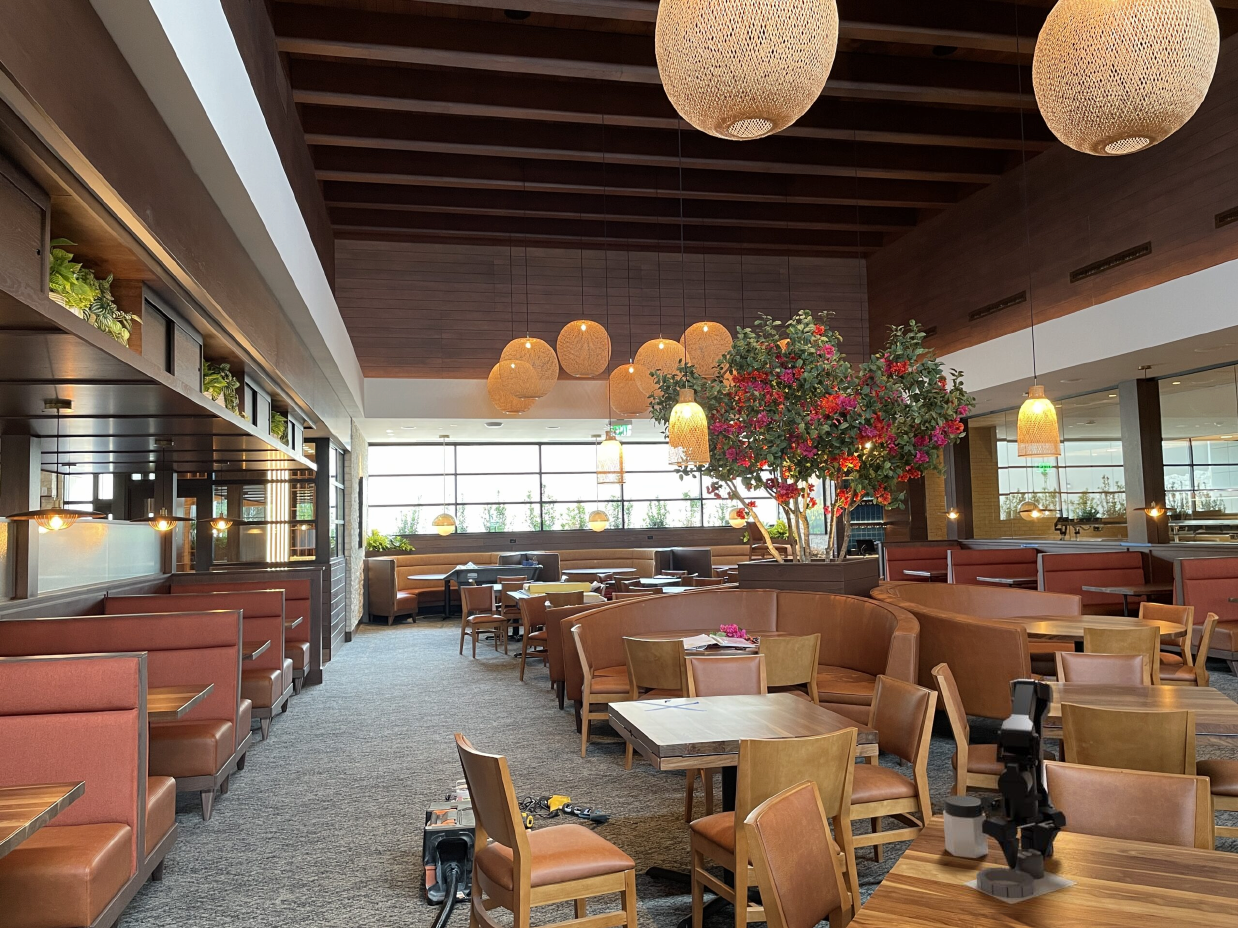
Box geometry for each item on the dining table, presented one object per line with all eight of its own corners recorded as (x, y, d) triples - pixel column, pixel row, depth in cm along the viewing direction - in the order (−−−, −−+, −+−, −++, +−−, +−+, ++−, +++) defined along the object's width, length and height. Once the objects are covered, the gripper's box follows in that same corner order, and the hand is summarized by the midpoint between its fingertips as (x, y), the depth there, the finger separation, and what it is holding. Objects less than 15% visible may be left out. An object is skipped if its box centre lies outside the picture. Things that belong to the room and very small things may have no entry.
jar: (970, 864, 196) (966, 808, 197) (939, 854, 202) (935, 800, 203) (995, 855, 200) (991, 800, 201) (963, 845, 207) (960, 792, 208)
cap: (1026, 866, 191) (1024, 845, 191) (1050, 875, 185) (1049, 854, 186) (1006, 872, 188) (1004, 851, 188) (1030, 881, 183) (1028, 859, 183)
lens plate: (1028, 869, 192) (1027, 855, 192) (1078, 888, 181) (1077, 872, 181) (963, 888, 183) (962, 872, 184) (1011, 908, 172) (1010, 892, 173)
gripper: (1021, 773, 199) (1026, 845, 198) (959, 785, 191) (964, 861, 190) (1065, 784, 189) (1070, 861, 188) (1001, 798, 181) (1007, 878, 180)
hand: (1026, 864), depth 187 cm, fingers open, 8 cm apart
